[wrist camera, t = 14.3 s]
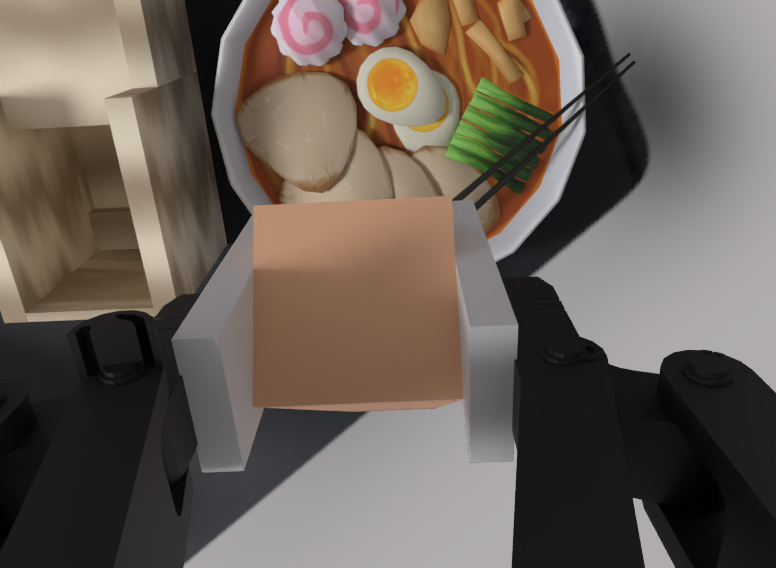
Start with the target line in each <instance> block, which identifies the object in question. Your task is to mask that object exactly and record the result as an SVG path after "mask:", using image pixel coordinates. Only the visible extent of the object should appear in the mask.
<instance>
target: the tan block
mask: <svg viewBox="0 0 776 568" xmlns="http://www.w3.org/2000/svg"><path fill="white" fill-rule="evenodd" d="M455 259H456V257H455V240H454V224H453V208H452V196H437V197H417V198H398V199H378V200H358V201H338V202H318V203H298V204H278V205H258V206H254V221H253V269H254V293H253V407H262V408H283V409H305V410H328V411H350V412H359V411H383V410H411V409H434V408H437V407H440V406H444V405H446V404H450V403H453V402H456V401H459V400H462V399H464V396H463V380H462V363H461V347H460V331H459V314H458V298H457V281H456V265H455Z"/></svg>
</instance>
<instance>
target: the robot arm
mask: <svg viewBox="0 0 776 568" xmlns="http://www.w3.org/2000/svg"><path fill="white" fill-rule="evenodd" d="M452 208H453V224H454V240H455V257H456V259H455V265H456V281H457V298H458V314H459V331H460V347H461V363H462V380H463V396H464V399H462V400H460V401H461V407H462V414H463V420H464V426H465V433H466V440H467V446H468V452H469V459H470V463H481V462H508V461H513V457H514V456H513V455H514V440H515V444H516V447H517V472H516V491H515V511H514V531H513V532H514V533H513V552H512V568H645V565H644V560H643V554H642V549H641V543H640V537H639V532H638V526H637V520H636V516H635V509H634V504H633V498H638V499H642V502H643V506H644V509H645V511H646V513H647V515H648V517H649V519H650V521H651V523H652V524H653V526H654V528H655V530H656V532H657V534H658V536H659V538H660V540H661V541H662V543H663V545H664V547H665V549H666V551H667V553H668V555H669V556H670V558H671V560H672V562H673V564H674V566H675V568H776V393H775V392H774V391H773V390H772V389H771V388H770V387H769V386H768V385H767V384H766V383H765V382H764V381H763V380H762V379H761V378H760V377H759V376H758V375H757V374H756V373H755V372H754V371H753V370H752V369H750V368H749V367H748V366H746V365H745V364H743V363H742V362H741V361H738V360H736V359H734V358H731V357H729V356H726V355H724V354H722V353H718V352H712V351H708V350H685V351H680V352H674V353H672V354H671V355H669V356H667V357H666V358H664V360H663V362H662V364H661V367H660V374H655V373H648V372H641V371H633V370H628V369H623V368H619V367H616V366H613V365H610V364H608V359H607V355H606V354H605V352H604V350H603V348H601V347H600V346H598V345H597V344H596V343H594V342H593V341H590V340H588V339H585V338H582V337H579V335H578V333H577V331H576V329H575V327H574V325H573V324H572V322H571V320H570V318H569V316H568V314H567V312H566V311H565V310H564V307H563V305H562V303H561V301H559V297H558V295H557V293H556V291H555V290H554V288H553V286H551V285H550V284H548V283H547V282H545V281H544V280H542V279H540V278H539V277H517V278H501V276H500V274H499V271H498V268H497V265H496V263H495V260H494V257H493V254H492V252H491V249H490V246H489V243H488V241H487V238H486V235H485V232H484V230H483V227H482V224H481V222H480V219H479V216H478V213H477V211H476V208H475V205H474V202H473V200H460V201H452ZM253 221H254V213H253V214H252V216H251V217H250V219H249V221H248V222H247V224H246V225H245V227H244V228H243V230H242V231H241V233H240V234H239V236H238V238H237V239H236V241H235V242H234V244H233V245H232V247H231V248H230V250H229V251H228V253H227V255H226V256H225V258H224V259H223V261H222V262H221V264H220V265H219V267H218V268H217V270H216V271H215V273H214V275H213V276H212V278H211V279H210V281H209V282H208V284H207V285H206V287H205V288H204V290H203V292H202V293H201V294H181V295H180V296H178V297H176V298H175V299H173V300H172V301H170V302H169V303H167V304H166V305H164V306H163V307H162V309H161V310H160V311H159V313H158V314H157V315H156V317H155V320H154V321H153V317H152V316H151V315H149V314H148V313H146V312H142V311H136V310H125V311H115V312H110V313H105V314H101V315H99V316H96V317H93V318H90V319H88V320H86V321H84V322H82V323H80V324H79V325H77V326H75V327H74V328H73V329H72V330H71V331H70V332H69V333H68V334H67V336H68V340H69V343H70V346H71V349H72V353H73V356H74V359H75V362H76V365H77V369H78V372H79V375H80V378H81V379H80V381H79V383H78V385H77V388H76V390H75V392H74V393H72V394H68V395H64V396H60V397H55V398H51V399H46V400H41V401H37V402H31V399H30V396H29V393H28V391H27V388H26V386H25V385H23V384H21V383H20V382H17V381H8V380H3V381H0V568H183V566H184V558H185V550H186V542H187V534H188V526H189V518H190V510H191V503H192V495H193V484H192V479H191V474H190V470H189V466H188V465H189V463H190V460H191V458H192V456H193V454H194V451H195V449H197V453H198V457H199V462H200V466H201V470H202V472H225V471H244V469H245V466H246V463H247V460H248V457H249V453H250V450H251V447H252V444H253V441H254V438H255V435H256V431H257V428H258V425H259V422H260V419H261V416H262V413H263V409H264V408H262V407H253V293H254V269H253Z"/></svg>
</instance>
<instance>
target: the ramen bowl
mask: <svg viewBox="0 0 776 568" xmlns="http://www.w3.org/2000/svg"><path fill="white" fill-rule="evenodd" d="M629 56H630V53H628V54H627V55H626V56H625V57H623V58H622V59H621V60H620V61H619V62H617V63H616V64H615V65H614V66H612V67H611V68H610V69H609V70H608V71H606V72H605V73H604V74H603V75H602V76H600V77H599V78H598V79H597V80H596V81H594V82H593V83H592V84H591V85H590V86H588V87H587V88H586V89H585V74H584V55H583V53H582V50H581V48H580V46H579V43H578V41H577V39H576V37H575V34H574V32H573V30H572V28H571V25H570V23H569V21H568V18H567V16H566V14H565V12H564V9H563V7H562V5H561V2H560V0H243V1H242V2H241V4H240V6H239V8H238V9H237V11H236V13H235V15H234V17H233V18H232V20H231V22H230V24H229V25H228V27H227V29H226V31H225V32H224V34H223V36H222V38H221V43H220V51H219V58H218V66H217V73H216V81H215V88H214V96H213V103H212V111H211V116H212V120H213V123H214V127H215V131H216V134H217V138H218V142H219V145H220V149H221V153H222V156H223V160H224V164H225V167H226V171H227V175H228V178H229V182H230V185H231V187H232V188H233V189H234V191H235V192H236V194H237V195H238V196H239V198H240V199H241V201H242V202H243V203H244V205H245V206H246V208H247V209H248V210H249V212H250V213H251V215H252V214H253V213H254V206H258V205H278V204H298V203H318V202H338V201H358V200H378V199H398V198H417V197H437V196H452V201H460V200H473V202H474V205H475V208H476V211H477V213H478V216H479V219H480V222H481V224H482V227H483V230H484V232H485V235H486V238H487V241H488V243H489V246H490V249H491V252H492V254H493V257H494V260H495V262H497V261H499V260H501V259H503V258H505V257H507V256H509V255H511V254H513V253H514V252H515V251H516V250H517V249H518V248H519V247H520V246H521V244H522V243H523V242H524V241H525V240H526V239H527V238H528V236H529V235H530V234H531V233H532V232H533V231H534V230H535V228H536V227H537V226H538V225H539V224H540V223H541V222H542V220H543V219H544V218H545V217H546V216H547V215H548V214H549V212H550V211H551V210H552V209H553V208H554V207H555V206H556V204H557V203H558V202H559V201H560V199H561V196H562V194H563V191H564V189H565V186H566V183H567V181H568V178H569V176H570V173H571V170H572V168H573V165H574V163H575V160H576V157H577V155H578V152H579V150H580V147H581V144H582V142H583V139H584V137H585V134H586V110H585V109H587V108H588V107H589V106H590V105H591V104H592V103H593V102H594V101H595V100H596V99H597V98H598V97H599V96H600V95H602V94H603V93H604V92H605V91H606V90H607V89H608V88H609V87H610V86H611V85H612V84H613V83H614V82H615V81H617V80H618V79H619V78H620V77H621V76H622V75H623V74H624V73H625V72H626V71H627V70H628V69H629V68H630V67H632V66H633V65H634V64H635V61H633V62H632V63H631V64H629V65H628V66H627V67H626V68H625V69H624V70H623V71H622V72H621V73H619V74H618V75H617V76H616V77H615V78H614V79H613V80H612V81H611V82H609V83H608V84H607V85H606V86H605V87H604V88H603V89H602V90H600V91H599V92H598V93H597V94H596V95H595V96H594V97H593V98H592V99H590V100H589V101H588V102H587V103H586V104H585V94H586V93H587V92H588V91H590V90H591V89H592V88H593V87H594V86H595V85H596V84H598V83H599V82H600V81H601V80H602V79H603V78H605V77H606V76H607V75H608V74H609V73H610V72H612V71H613V70H614V69H615V68H616V67H617V66H618V65H620V64H621V63H622V62H623V61H624V60H625V59H626V58H628V57H629Z"/></svg>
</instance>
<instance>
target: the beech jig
mask: <svg viewBox="0 0 776 568" xmlns="http://www.w3.org/2000/svg"><path fill="white" fill-rule="evenodd" d="M226 246H227V240H226V234H225V229H224V223H223V217H222V212H221V206H220V200H219V194H218V189H217V183H216V177H215V172H214V166H213V160H212V154H211V149H210V143H209V137H208V132H207V126H206V120H205V114H204V109H203V103H202V97H201V91H200V86H199V80H198V74H197V69H196V63H195V57H194V51H193V46H192V40H191V34H190V29H189V23H188V17H187V11H186V6H185V0H0V311H1V314H2V317H3V320H4V323H18V322H40V321H62V320H85V319H90V318H93V317H96V316H99V315H101V314H105V313H110V312H115V311H125V310H136V311H142V312H146V313H148V314H149V315H151V316H156V315H157V314H158V313H159V311H160V310H161V309H162V307H163V306H164V305H166V304H167V303H169V302H170V301H172V300H173V299H175V298H176V297H178V296H180V295H181V294H194V293H195V292H196V290H197V289H198V287H199V286H200V284H201V283H202V281H203V280H204V278H205V277H206V275H207V274H208V272H209V271H210V269H211V268H212V266H213V265H214V263H215V262H216V260H217V259H218V257H219V256H220V254H221V253H222V251H223V250H224V249H225V247H226Z"/></svg>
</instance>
